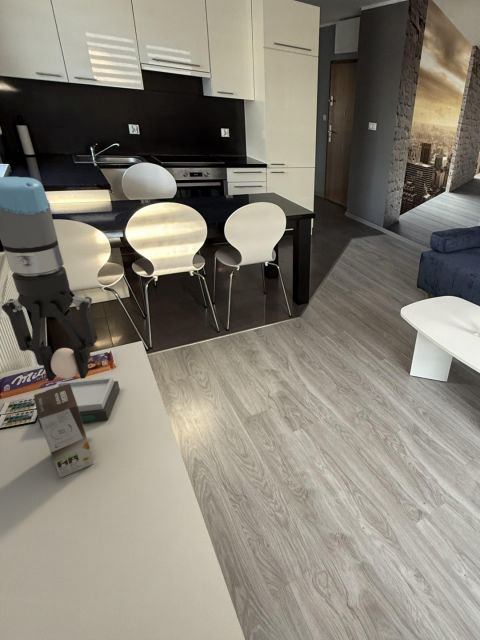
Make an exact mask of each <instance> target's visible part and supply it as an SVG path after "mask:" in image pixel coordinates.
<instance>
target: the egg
mask: <svg viewBox="0 0 480 640" xmlns="http://www.w3.org/2000/svg"><path fill="white" fill-rule="evenodd" d="M73 351H74V349H71V348H68V347H60V348H58V349H57V350H56V351H54V353H52V354H53V356H52V359H51V369H52V371H53V373H54V374H55V375H56V377H58V378H60V379H72V378H75V377H76V376H77V374H79V371H78V367H77V364H76V360H75V356H74V353H73Z"/></svg>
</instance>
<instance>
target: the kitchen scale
mask: <svg viewBox="0 0 480 640" xmlns="http://www.w3.org/2000/svg"><path fill="white" fill-rule="evenodd" d="M67 384H70V386H71V389H72V391H73V394H74V397H75V400H76V402H77V406H78V409H79V412H80V416H81V419H82V422H83V424H88V423H90V424H91V423H97V422H106V421H109V419H110V416H111V414H112V411H113V408H114V406H115V404H116V401H117V399H118V396H119V394H120V391H121V388H120V384H119V380H114V377H103V378H92V379H79V380H69V381H60V382H56V384H55V385H54V387H53V388H56V387H59V386H63V385H67ZM37 421H38V425H39V427H40V429H42V426H41V423H40V421H39V419H38V417H37Z"/></svg>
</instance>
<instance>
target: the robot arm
mask: <svg viewBox="0 0 480 640" xmlns="http://www.w3.org/2000/svg"><path fill="white" fill-rule="evenodd" d="M0 241H1V242H0V243H1V245H2V248H3V251H4V254H5V257H6V261H7V264H8V266H9V269H10V271H11V272H12V275H11V277H12V280H13V283H14V286H15V289H16V292H17V294H18V297H17V298H15V299H14V298H9V299H8V300H7V301H6V302H5V303H4V304H2V305H1V309H2V310H3V312H4V313H5V314H6V316H8V318H9V321H10V324H11V327H12V331H13V334H14V336H15V340H16V342H17V346H18V348H19V350H20V351H21V352H26V351H30V352H32V353H33V354H34V357H35V360H36V363H37V364H38V366H43V368H44V372H45V375H46V378H47V381H48V382H53V381H54V380H55V378H57V375H55V374H54V373H53V371H52V369H51V359H52V356H53V354H54V353H53V350H52V348H51V345H47V342H46V321H47V319H46V318H55V319H56V320H57V322H58V323H60V324H61V326H62V327H63V328H64V329H65V332H66V333H67V335H68V336H69V338H70V340H71V341H72V343H73V344H74V346H75V348H74V349H73V353H74V356H75V360H76V364H77V367H78V371H79V372H78V375H79V378H80V380H83V379H86V377H87V376H88V373H89V372H90V369H89V364H88V363H89V362H90V359H91V357H92V356H91V351H90V348H92V347H94V346H95V344H96V342H97V341H98V334H97V330H96V325H95V322H94V317H93V313H92V308H91V306H92V301H93V299H92V297H90V296H85V297H80V296H77V295H75V293H74V292H73V291H72V290H71V288H70V283H69V279H68V274H67V271H66V268H65V267H64V264H65V262H64V258H63V254H62V251H61V247H60V244H59V241H58V235H57V232H56V228H55V223H54V220H53V214H52V211H51V203H50V201H49V200H48V197H47V195H46V191H45V188H44V186H43V184H42V182H41V181H39V180H38V179H36V178H32V177H28V176H27V177H26V176H23V177H21V176H0ZM72 304H74V305H75V308H76V309H75V310H78V316H79V320H80V324H81V327H82V328H81V327H80V325H79V324H78V322H77V320H76V318H75V317H74V315H73V310H72V309H71V306H72ZM23 308H25V309H26V310H27V311H29V312H30V313H31V314H30V315H31V318H30V319H31V320H30V321H31V323H32V327H31V329H32V330H31V331H30V328H29V325H28V322H27V318H26V315H25V313H24V310H23Z"/></svg>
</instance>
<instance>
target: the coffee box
mask: <svg viewBox="0 0 480 640" xmlns="http://www.w3.org/2000/svg"><path fill="white" fill-rule="evenodd" d="M33 398H34V403H35V410H36V414H37V418H38V419H39V421H40V423H41V426H42V428H41V429H42V432H43V434H44V437H45V440H46V443H47V446H48V448H49V451H50V454H51V457H52V460H53V462H54V465H55V468H56V471H57V474H58V477H59V478H60V479H61V478H64V477H66V476H68V475H70V474H73V473H76V472H79V471H80V470H83V469H85V468H88V467H89V466H92V465H94V458H93V454H92V450H91V446H90V443H89V440H88V436H87V433H86V429H85V426H84V423H83V422H82V419H81V416H80V412H79V409H78V406H77V402H76V400H75V397H74V394H73V391H72V389H71V386H70V384H67V385H63V386H59V387H56V388H54V387H53V388H50V389H46V390H45V391H42V392H39V393H36V394H34V395H33ZM38 419H37V420H38Z"/></svg>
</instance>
